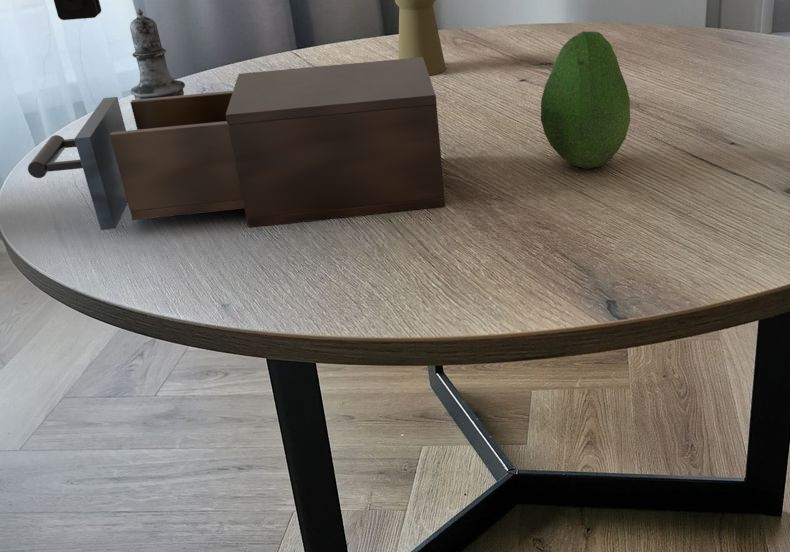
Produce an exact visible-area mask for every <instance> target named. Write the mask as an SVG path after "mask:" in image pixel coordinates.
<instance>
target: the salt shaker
mask: <svg viewBox="0 0 790 552" xmlns="http://www.w3.org/2000/svg"><path fill="white" fill-rule="evenodd" d="M136 14H137V15H138V16H136V18H135V19H133V20H132V21H131V22H130V23H129V31H130V35H131V40H132V43H133V49H134V52H132V57H133V58H135V59H136V62H137V67H138V70H139V82H138V84H137V85H136V86H134V87H132V88H131V89H130V91H129V93H130V94H131V96H133V97H134V100H137V99H148V98H159V97H170V96H180V95H185V91H184V89H185V87H186V83H185V82H184V81H182V80H178V79H175V78H173V77H172V75H171V73H170V71H169V70H168V69H169V68H168V65H167V60H166V56H165V55H166V53H167V49H166V48H163V46H162V42H161V38H160V37H161V36H160V33H159V29H158V25H157V23H156V21H155V20H154V19H152V18H151V17H147V16H145V15H144V11H143V10H142V9H141V8H138V9H137V12H136Z"/></svg>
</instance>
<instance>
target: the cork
mask: <svg viewBox="0 0 790 552" xmlns="http://www.w3.org/2000/svg"><path fill="white" fill-rule="evenodd" d="M394 2H395V4H396V6H397V7H398V8H399V9H398V10H399V11H398V12H399V13H398V56H397V59H407V58H418V57H423V59H424V62H425V65H426V68H427V71H428V74H429V77H431V76H434V75H438V74H442V73H443V72H445V71H446V70H447V67H446V62H445V57H444V53H443V52H444V51H443V47H442V43H441V38H440V34H439V29H438V24H437V19H436V13H435V9H434V4H435V2H436V0H394Z"/></svg>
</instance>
